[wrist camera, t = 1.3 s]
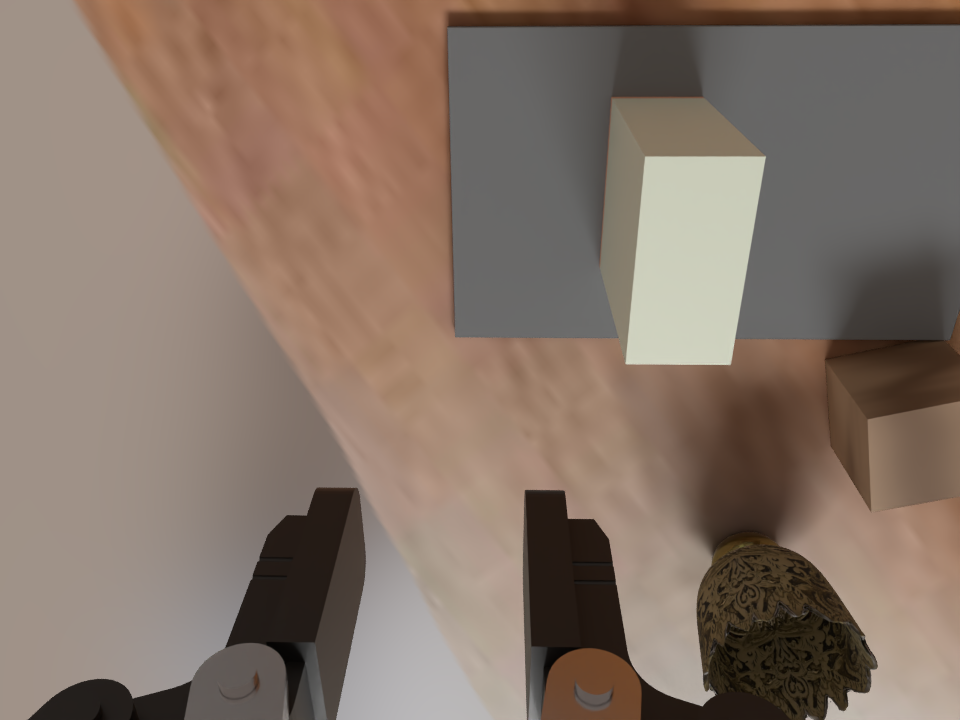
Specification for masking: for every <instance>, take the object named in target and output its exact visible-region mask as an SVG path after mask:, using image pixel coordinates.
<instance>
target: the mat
mask: <svg viewBox="0 0 960 720" xmlns="http://www.w3.org/2000/svg"><path fill="white" fill-rule="evenodd" d="M447 29H448V69H449V109H450V148H451V188H452V228H453V268H454V307H455V337H502V338H618V334H617V330H616V326H615V323H614V319H613V315H612V311H611V308H610V304H609V300H608V296H607V293H606V289H605V285H604V281H603V278H602V274H601V270H600V266H599V263H600V249H601V235H602V221H603V207H604V193H605V179H606V165H607V151H608V137H609V123H610V108H611V97H704V98H705V99H706V100H707V101H708V102H709V103H710V104H711V105H712V106H713V107H714V108H715V109H716V110H717V111H718V112H720V113H721V114H722V115H723V116H724V117H725V118H726V119H727V120H728V121H729V122H730V123H731V124H732V125H733V126H734V127H735V128H736V129H737V130H738V131H740V132H741V133H742V134H743V135H744V136H745V137H746V138H747V139H748V140H749V141H750V142H751V143H752V144H753V145H754V146H755V147H756V148H757V149H758V150H760V151H761V152H762V153H763V154H764V155H765V156H766V159H765V164H764V170H763V176H762V182H761V188H760V194H759V200H758V206H757V212H756V218H755V224H754V230H753V236H752V241H751V247H750V253H749V259H748V265H747V271H746V277H745V283H744V289H743V295H742V301H741V307H740V313H739V318H738V324H737V330H736V336H735V339H842V340H950V338H951V335H952V332H953V329H954V326H955V323H956V320H957V316H958V313H959V310H960V24H880V25H647V26H448V28H447Z"/></svg>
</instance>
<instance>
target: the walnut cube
mask: <svg viewBox="0 0 960 720" xmlns="http://www.w3.org/2000/svg"><path fill="white" fill-rule="evenodd" d="M825 368H826V382H827V397H828V411H829V426H830V440H831V447H832V449H833V450H834V452H835V454H836V455H837V457H838V459H839V460H840V462H841V464H842V465H843V467H844V468H845V470H846V472H847V473H848V475H849V477H850V478H851V480H852V482H853V483H854V485H855V486H856V488H857V490H858V491H859V493H860V495H861V496H862V498H863V500H864V501H865V503H866V504H867V506H868V508H869V509H870V511H871V513H872V512H877V511H883V510H888V509H894V508H899V507H905V506H910V505H916V504H922V503H927V502H933V501H938V500H944V499H949V498H955V497H960V355H959V354H958V353H957V352H956V351H955V350H954V349H953V348H951V347H950V346H949V345H948V344H947V343H946V342H945V341H944V340H917V341H912V342H907V343H902V344H898V345H893V346H888V347H883V348H878V349H874V350H869V351H864V352H859V353H854V354H850V355H845V356H840V357H835V358H830V359H826V360H825Z"/></svg>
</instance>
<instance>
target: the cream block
mask: <svg viewBox="0 0 960 720" xmlns="http://www.w3.org/2000/svg"><path fill="white" fill-rule="evenodd" d="M765 159H766V156H765V155H764V154H763V153H762V152H761V151H760V150H758V149H757V148H756V147H755V146H754V145H753V144H752V143H751V142H750V141H749V140H748V139H747V138H746V137H745V136H744V135H743V134H742V133H741V132H740V131H738V130H737V129H736V128H735V127H734V126H733V125H732V124H731V123H730V122H729V121H728V120H727V119H726V118H725V117H724V116H723V115H722V114H721V113H720V112H718V111H717V110H716V109H715V108H714V107H713V106H712V105H711V104H710V103H709V102H708V101H707V100H706V99H705V98H704V97H611V108H610V123H609V137H608V151H607V165H606V179H605V193H604V207H603V221H602V235H601V249H600V263H599V266H600V270H601V274H602V278H603V281H604V285H605V289H606V293H607V296H608V300H609V304H610V308H611V311H612V315H613V319H614V323H615V326H616V330H617V334H618V338H619V342H620V345H621V349H622V353H623V357H624V360H625V364H669V365H731V360H732V354H733V348H734V342H735V336H736V330H737V324H738V318H739V313H740V307H741V301H742V295H743V289H744V283H745V277H746V271H747V265H748V259H749V253H750V247H751V241H752V236H753V230H754V224H755V218H756V212H757V206H758V200H759V194H760V188H761V182H762V176H763V170H764V164H765Z"/></svg>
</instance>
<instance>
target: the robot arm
mask: <svg viewBox="0 0 960 720" xmlns="http://www.w3.org/2000/svg"><path fill="white" fill-rule="evenodd" d="M365 564H366V555H365V543H364V533H363V523H362V513H361V504H360V495H359V491H358V489H357V488H317V489H316V490H315V492H314V495H313V498H312V501H311V504H310V508H309V510H308V514H307V516H297V515H295V516H294V515H287V516H286V517H285V518H284V519H283V520H282V521H281V522H280V523H279V524H278V525H277V526H276V527H275V528H274V529H273V530H272V531H271V532H270V533H269V534H268V536H267V538H266V541H265V544H264V547H263V549H262V552H261V554H260V560H259V561H258V562H257V565H256V568H255V570H254V573H253V579H252V580H251V581H250V584H249V586H248V589H247V592H246V594H245V597H244V600H243V602H242V605H241V607H240V610H239V613H238V616H237V618H236V621H235V623H234V626H233V629H232V631H231V634H230V637H229V639H228V642H227V645H226V647H225V649H223V650H221V651H219V652H217V653H215V654H214V655H212V656H211V657H210V658H209V659H207V660H206V661H205V662H204V663H203V664H202V665H201V666H200V668H199V669H198V670H197V672H196V673H195V675H194V677H193V680H192V681H190V682H188V683H186V684H183V685H181V686H178V687H175V688H172V689H168V690H164V691H160V692H156V693H153V694H149V695H145V696H141V697H137V698H134V699H132V696H131V694H130V692H129V690H128V689H127V688H126V687H125V686H124V685H122V684H121V683H119V682H116V681H113V680H108V679H94V680H88V681H84V682H81V683H78V684H75V685H73V686H70V687H68V688H67V689H65V690H63V691H61V692H60V693H58V694H57V695H55V696H54V697H52V698H51V699H50V700H49V701H48V702H47V703H46V704H44V705H43V706H42V707H41V708H40V709H39V710H38V711H37V712H36V713H35V714H34V715H32V717H30V718H29V719H28V720H336V716H337V712H338V707H339V702H340V697H341V692H342V687H343V683H344V678H345V673H346V668H347V663H348V658H349V654H350V649H351V644H352V639H353V634H354V629H355V624H356V620H357V615H358V610H359V605H360V601H361V596H362V591H363V586H364V578H365ZM523 600H524V635H525V670H526V706H527V720H790V719H789V718H788V716H787V715H786V714H785V713H784V712H783V711H782V710H780V709H779V708H778V707H777V706H775V705H774V704H772V703H771V702H769V701H767V700H765V699H763V698H761V697H759V696H756V695H753V694H749V693H744V692H726V693H722V694H719V695H716V696H714V697H712V698H711V699H710V700H708V701H707V702H706V703H705V704H704V706H703V707H702V706H699V705H696V704H693V703H689V702H686V701H683V700H680V699H676V698H673V697H671V696H668V695H665V694H664V693H662V692H660V691H658V690H656V689H655V688H653V687H652V686H650V685H649V684H648V683H647V682H645V681H644V680H643V679H642V678H641V677H640V675H639V674H638V673H637V672H636V670H635V669H634V667H633V666H632V663H631V661H630V659H629V655H628V651H627V645H626V639H625V633H624V627H623V621H622V615H621V609H620V603H619V597H618V591H617V585H616V579H615V573H614V567H613V561H612V555H611V549H610V543H609V539H608V538H607V536H606V535H605V533H604V532H603V531H602V529H601V528H600V527H599V525H598V524H597V523H596V521H595V520H594V519H568V516H567V507H566V497H565V491H563V490H525V499H524V539H523Z"/></svg>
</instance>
